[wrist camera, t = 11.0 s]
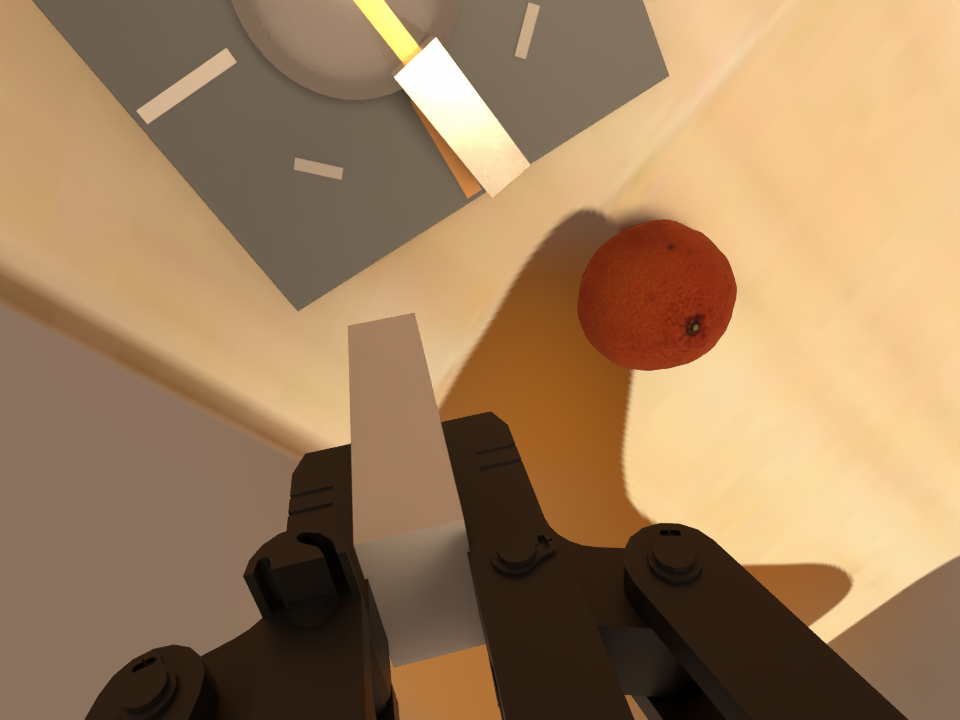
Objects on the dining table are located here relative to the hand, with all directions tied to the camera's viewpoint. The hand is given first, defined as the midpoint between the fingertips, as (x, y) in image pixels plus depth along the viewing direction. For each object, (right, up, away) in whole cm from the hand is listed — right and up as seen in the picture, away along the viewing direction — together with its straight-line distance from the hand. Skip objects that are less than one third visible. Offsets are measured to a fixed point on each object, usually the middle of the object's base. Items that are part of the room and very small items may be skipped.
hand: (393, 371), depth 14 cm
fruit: (+12, +6, +26) cm, 29 cm away
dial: (-2, +16, +15) cm, 22 cm away
